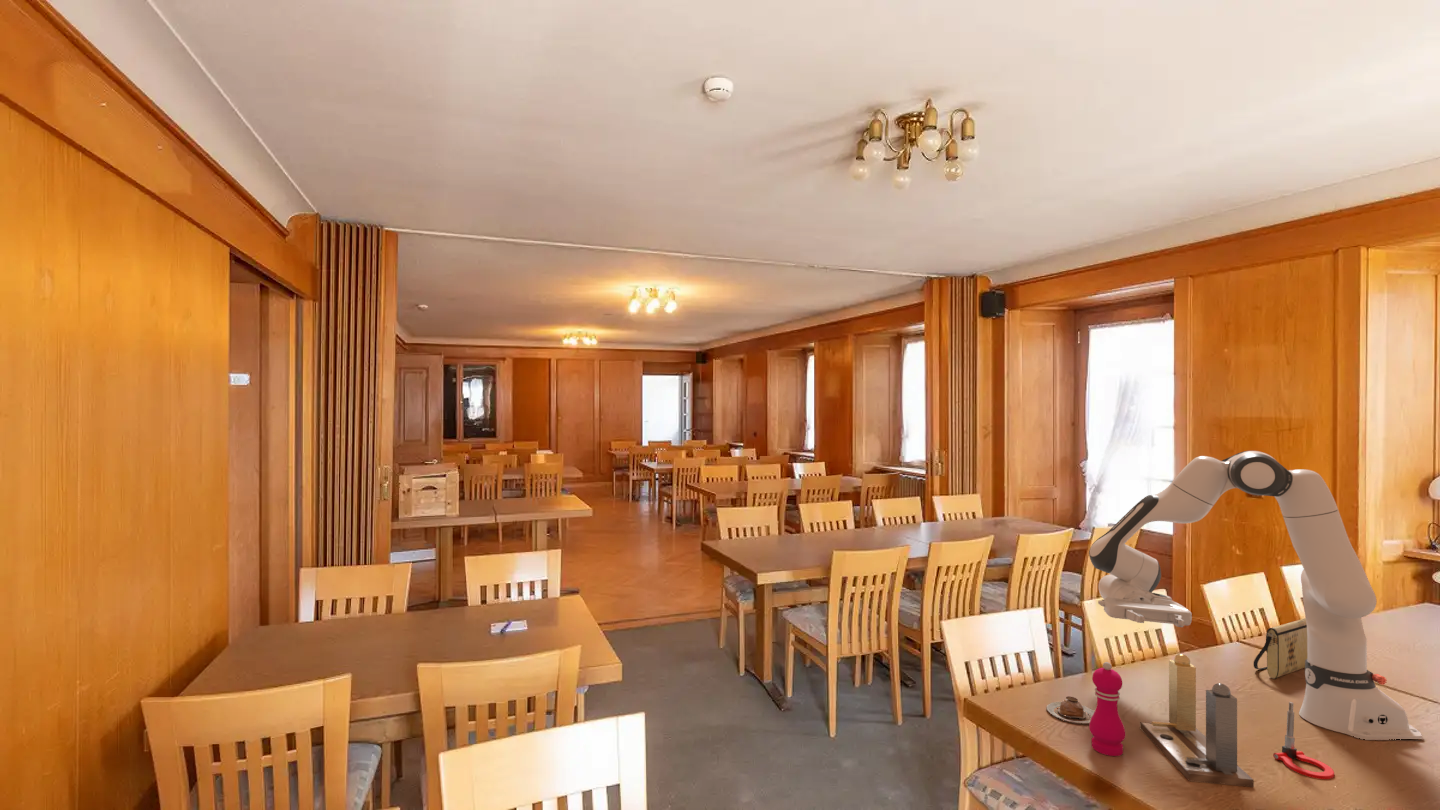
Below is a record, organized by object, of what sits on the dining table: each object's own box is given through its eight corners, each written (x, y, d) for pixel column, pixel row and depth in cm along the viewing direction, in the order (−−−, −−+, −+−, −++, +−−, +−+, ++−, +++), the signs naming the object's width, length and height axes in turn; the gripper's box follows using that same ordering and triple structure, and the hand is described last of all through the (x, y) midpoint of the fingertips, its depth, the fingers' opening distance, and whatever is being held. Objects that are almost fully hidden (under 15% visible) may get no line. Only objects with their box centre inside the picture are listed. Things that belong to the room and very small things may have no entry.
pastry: (1046, 702, 180) (1046, 685, 181) (1097, 711, 175) (1097, 694, 175) (1046, 721, 170) (1046, 702, 170) (1101, 731, 164) (1101, 712, 165)
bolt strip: (1181, 727, 163) (1181, 725, 163) (1233, 775, 141) (1233, 773, 141) (1141, 723, 164) (1141, 722, 164) (1186, 771, 143) (1186, 769, 143)
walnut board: (1194, 732, 163) (1194, 726, 163) (1253, 787, 139) (1253, 779, 139) (1140, 728, 165) (1140, 722, 165) (1189, 780, 142) (1189, 773, 142)
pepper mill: (1130, 759, 150) (1130, 669, 151) (1095, 755, 152) (1095, 666, 152) (1118, 743, 157) (1118, 657, 158) (1084, 740, 159) (1084, 655, 159)
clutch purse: (1295, 657, 214) (1295, 610, 214) (1322, 664, 208) (1322, 616, 208) (1246, 674, 200) (1246, 623, 201) (1274, 682, 194) (1274, 630, 194)
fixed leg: (1226, 762, 146) (1226, 680, 146) (1237, 772, 142) (1237, 688, 142) (1183, 758, 147) (1182, 677, 147) (1192, 768, 143) (1192, 685, 143)
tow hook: (1344, 779, 143) (1301, 755, 152) (1347, 720, 143) (1304, 699, 152) (1310, 782, 142) (1269, 758, 151) (1312, 722, 142) (1271, 701, 151)
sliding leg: (1187, 724, 162) (1187, 652, 163) (1195, 732, 158) (1195, 657, 159) (1148, 721, 164) (1148, 649, 164) (1156, 728, 160) (1156, 655, 160)
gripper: (1096, 589, 187) (1118, 605, 173) (1175, 596, 184) (1204, 614, 171) (1094, 611, 187) (1116, 629, 174) (1173, 619, 185) (1202, 638, 171)
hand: (1161, 621), depth 172 cm, fingers open, 8 cm apart
